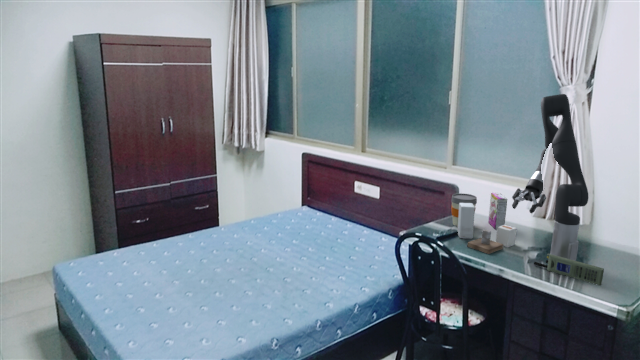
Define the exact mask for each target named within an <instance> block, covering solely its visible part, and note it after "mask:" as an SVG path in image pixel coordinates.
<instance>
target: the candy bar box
mask: <svg viewBox="0 0 640 360" xmlns="http://www.w3.org/2000/svg"><path fill="white" fill-rule="evenodd" d="M489 201H490V202H489V211H488V224H489V225H490V226H492V228H493V229H494V230H496V231H497V227H499V226H502V225H506V216H507V209H508V208H507V206H508V198H507V197H505V195H503V194H502V193H501V192H490V200H489Z"/></svg>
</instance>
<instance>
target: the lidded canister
mask: <svg viewBox="0 0 640 360" xmlns="http://www.w3.org/2000/svg"><path fill="white" fill-rule="evenodd" d="M450 201H451V206H450V207H451V209H450V211H451V215H452V224H453V225H454V226H455V227H458V216H459V203H472V204H473V205H474V207H475V210H476V208H477V207H476V204H477V201H478V199H477V196H476V195H473V194H470V193H462V192H461V193H453V194H452V195H451V200H450ZM475 214H476V212H475V213H474V215H475Z"/></svg>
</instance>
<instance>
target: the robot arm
mask: <svg viewBox="0 0 640 360" xmlns="http://www.w3.org/2000/svg"><path fill="white" fill-rule="evenodd" d="M570 107H571V105H570V100H569V97H568V95H567V94H565V93H561V94H553V95H549V96H544V97H542V98H541V101H540V112H541V120H542V126H543V130H544V146H545V148H544V149H543V150H542V152H541V155H540V161H539V164H538V166H537V168H536V170H535V171H534V173H533V174H532V175H531V177H530V179H529V180H528V182H527V184H526V186H525V188H524V189H521V188H519V187H518V188H517V189H516V191H515V192H514V193H513V195H512V197H511V198H512V200H513V203H512V204H511V206H512V209H514V210H515V209H516V208H517V206H518V205H519V203H521V202H523V201H526V202H528V201H529V202H533V204H532V206H531V207H530V208H529V213H530V214H533V213H535V211H536V210H537V208H542V207H543V205H544V204H545V202H546V200H547V196H546V194H545V193H543V192H542V191H544V190H543V180H542V174H541V164H542V160H543V157H544V154H545V151H546V149H547V148H548V146H549V144H550V143H552V148H553V154H554V158H555V160H556V161H557V162H558V164H559V165H558V166H560V167H561V169H563V171H564V172H565V173H566V174H567V175H568V177H569V179H570V182H571V183H563V184H562V183H561V184H560V185H558V187H557V190H556V194H555V207H554V216H555V217H554V222H553V223H554V224H553V231H552V239H551V246H550V252H549V254H552V255H556V256H559V257H563V258H567V259H570V260H574V261H577V257H578V252H579V251H578V249H579V245H580V241H579V240H578V235H579V228H580V223H581V217H580V216H579V215H578V214H577V213H573V212H571V211H569V210H570V208H571V207H573V208H574V207H577V208H579V207H585V206H587V204H588V202H589V191H588V186H587V183H586V180H585V177H584V175H583V170H582V166H581V162H580V157H579V151H578V147H577V146H578V145H577V141H576V137H575V133H574V128H573V122H572V114H571V108H570ZM559 116H561V117H562V119H561V120H562V121H561V123H560V125H559V128H558V126H557V125H555V123H554V122H553V121H552V120H551V117H552V118H553V117H559ZM542 193H543V194H542ZM538 199H539V201H537V200H538Z"/></svg>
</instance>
